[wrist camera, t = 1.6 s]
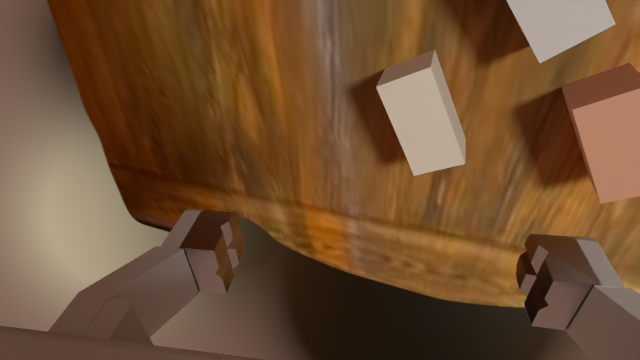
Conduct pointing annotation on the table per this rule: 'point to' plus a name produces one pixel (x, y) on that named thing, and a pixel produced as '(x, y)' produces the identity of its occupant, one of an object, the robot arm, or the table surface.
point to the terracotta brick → (608, 130)
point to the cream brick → (423, 113)
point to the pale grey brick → (559, 23)
